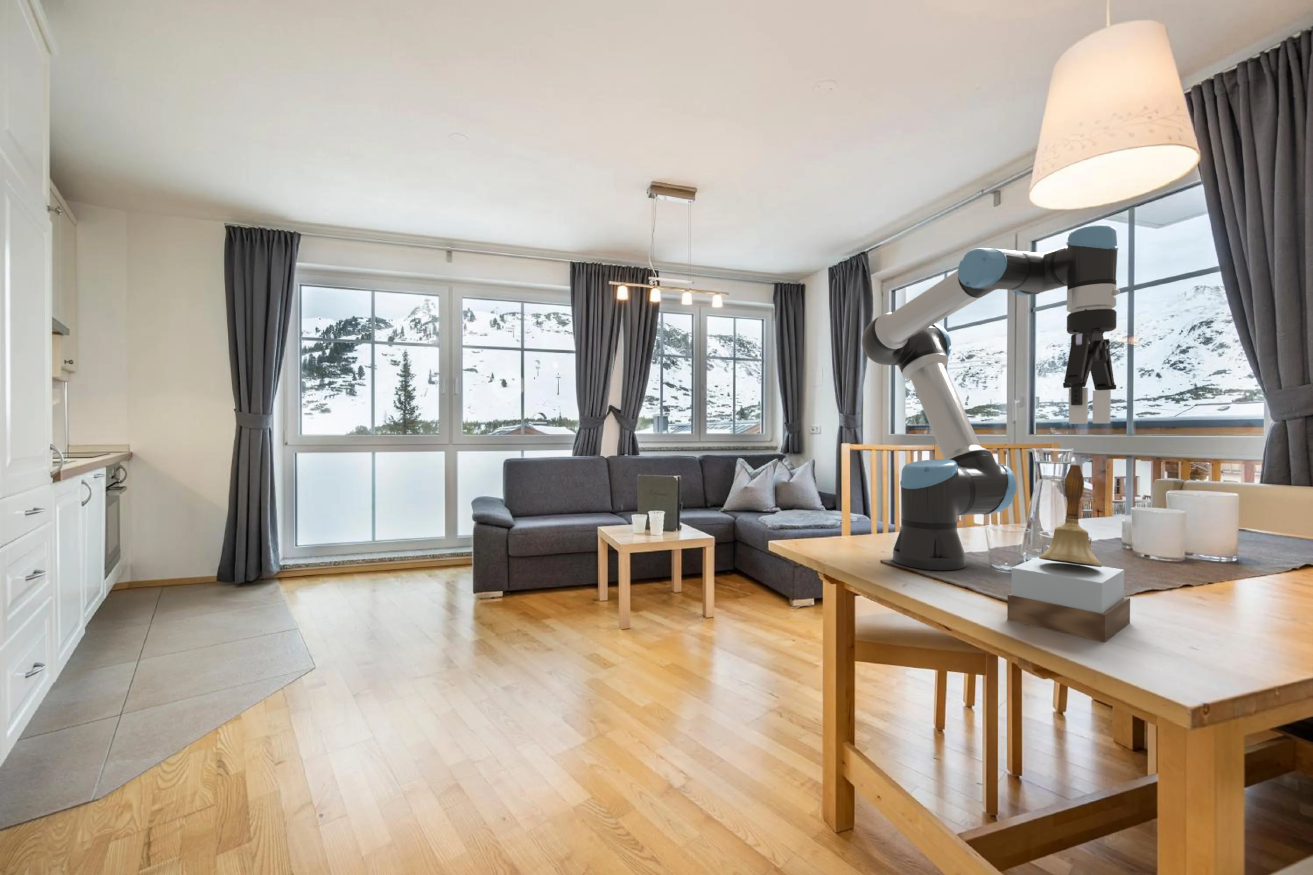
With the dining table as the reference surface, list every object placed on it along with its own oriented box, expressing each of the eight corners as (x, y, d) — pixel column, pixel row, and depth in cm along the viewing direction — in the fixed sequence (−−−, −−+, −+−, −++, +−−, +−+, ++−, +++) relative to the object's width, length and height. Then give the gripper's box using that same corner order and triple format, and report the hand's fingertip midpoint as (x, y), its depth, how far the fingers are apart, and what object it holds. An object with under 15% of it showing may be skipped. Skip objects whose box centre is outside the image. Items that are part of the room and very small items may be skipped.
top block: (1011, 595, 94) (1011, 567, 94) (1038, 582, 102) (1038, 556, 102) (1101, 613, 85) (1102, 583, 85) (1123, 597, 93) (1124, 569, 93)
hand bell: (1085, 565, 96) (1088, 471, 99) (1113, 568, 88) (1116, 464, 91) (1030, 558, 98) (1034, 465, 101) (1053, 559, 90) (1057, 458, 93)
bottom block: (1007, 622, 95) (1007, 594, 95) (1037, 606, 103) (1037, 580, 103) (1104, 645, 85) (1105, 614, 84) (1129, 625, 93) (1130, 597, 93)
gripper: (1094, 299, 99) (1093, 423, 99) (1134, 315, 114) (1133, 423, 115) (1043, 306, 105) (1043, 424, 105) (1088, 320, 120) (1087, 423, 121)
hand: (1090, 423), depth 110 cm, fingers open, 13 cm apart
